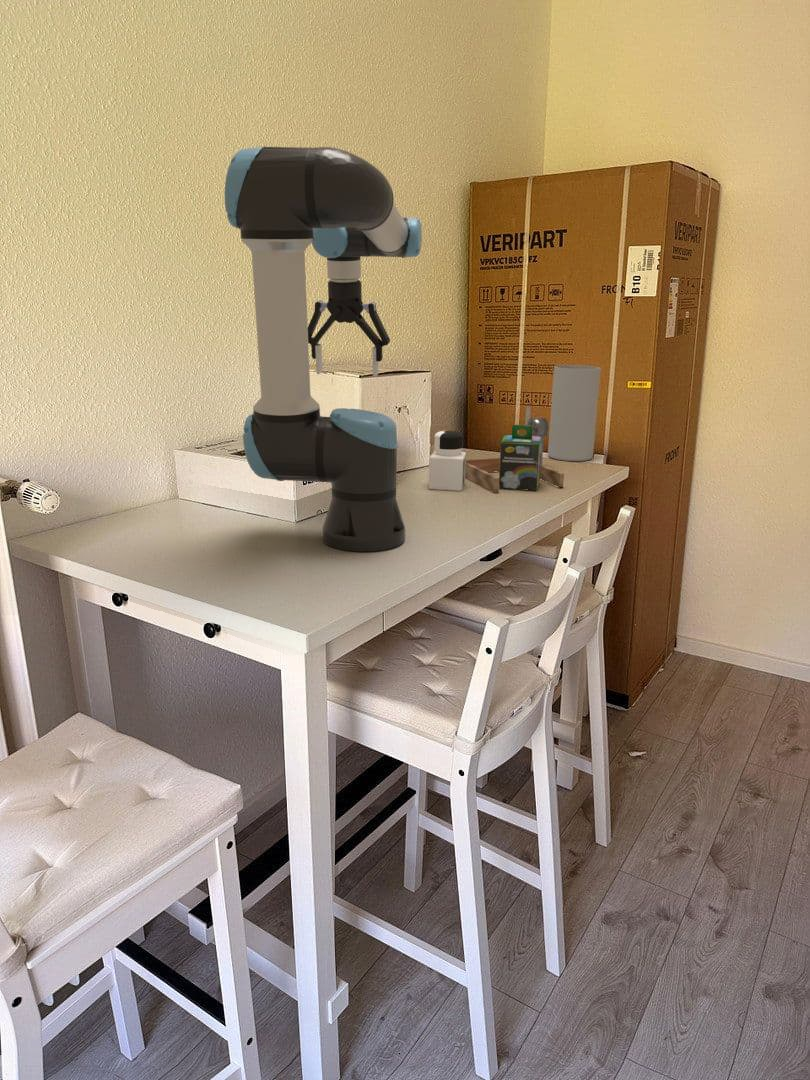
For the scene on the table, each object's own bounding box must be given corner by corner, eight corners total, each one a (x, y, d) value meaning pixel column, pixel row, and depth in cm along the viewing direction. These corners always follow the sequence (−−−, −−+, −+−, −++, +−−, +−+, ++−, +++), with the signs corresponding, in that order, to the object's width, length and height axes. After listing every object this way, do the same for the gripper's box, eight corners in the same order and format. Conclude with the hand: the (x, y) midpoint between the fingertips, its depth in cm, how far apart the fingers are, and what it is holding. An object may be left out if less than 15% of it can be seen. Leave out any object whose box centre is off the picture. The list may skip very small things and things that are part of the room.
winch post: (545, 468, 205) (549, 407, 200) (527, 469, 203) (531, 408, 198) (535, 464, 209) (540, 404, 205) (518, 465, 208) (522, 405, 203)
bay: (562, 488, 184) (564, 473, 183) (494, 493, 178) (495, 478, 177) (520, 469, 203) (521, 456, 202) (457, 473, 197) (458, 460, 196)
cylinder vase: (543, 453, 225) (549, 364, 218) (585, 453, 226) (593, 365, 219) (553, 461, 214) (560, 369, 206) (598, 462, 214) (607, 369, 207)
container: (465, 483, 187) (467, 430, 183) (461, 491, 179) (463, 435, 176) (433, 482, 188) (434, 428, 184) (428, 489, 181) (430, 433, 177)
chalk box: (539, 483, 189) (544, 422, 185) (537, 491, 181) (541, 428, 176) (501, 480, 191) (505, 420, 187) (497, 489, 182) (501, 426, 178)
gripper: (402, 278, 176) (402, 372, 185) (296, 276, 180) (301, 367, 189) (395, 283, 169) (396, 380, 178) (285, 280, 173) (291, 375, 182)
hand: (347, 374), depth 184 cm, fingers open, 13 cm apart
